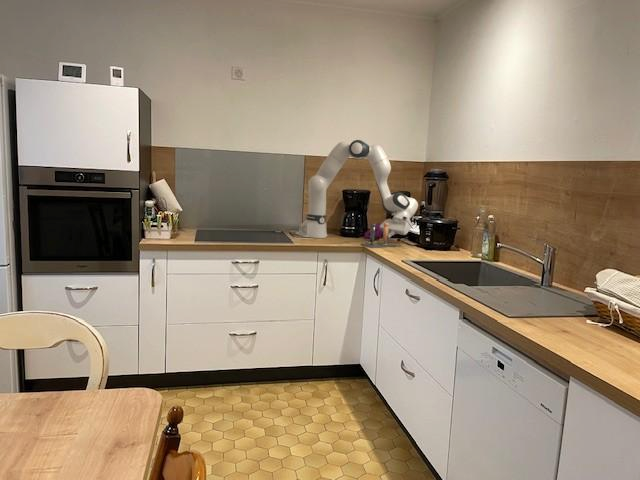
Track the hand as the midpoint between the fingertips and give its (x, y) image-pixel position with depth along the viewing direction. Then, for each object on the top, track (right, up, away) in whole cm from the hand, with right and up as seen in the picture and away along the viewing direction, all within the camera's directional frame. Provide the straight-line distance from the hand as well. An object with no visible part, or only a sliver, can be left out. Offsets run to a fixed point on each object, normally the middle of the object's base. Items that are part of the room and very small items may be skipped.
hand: (387, 236), depth 283 cm
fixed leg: (-11, -4, -6) cm, 13 cm away
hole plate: (-6, -5, -2) cm, 8 cm away
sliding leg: (-2, -3, 0) cm, 4 cm away
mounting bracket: (-3, -1, +30) cm, 31 cm away
